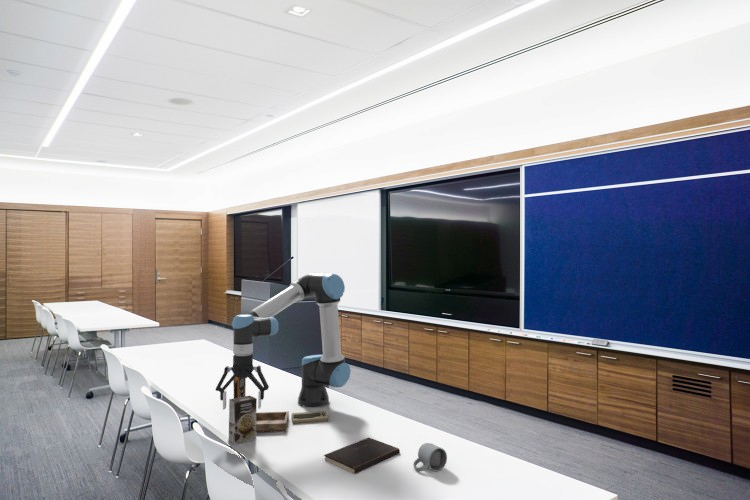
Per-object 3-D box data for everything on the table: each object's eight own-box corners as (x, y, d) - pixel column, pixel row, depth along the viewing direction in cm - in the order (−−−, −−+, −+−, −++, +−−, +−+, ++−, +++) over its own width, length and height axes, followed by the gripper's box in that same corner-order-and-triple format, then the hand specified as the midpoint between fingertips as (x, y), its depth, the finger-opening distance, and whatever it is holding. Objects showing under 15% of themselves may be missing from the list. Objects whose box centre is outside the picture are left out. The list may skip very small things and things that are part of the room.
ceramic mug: (433, 459, 171) (433, 438, 171) (447, 468, 164) (447, 446, 164) (408, 466, 166) (408, 444, 166) (422, 476, 159) (421, 453, 159)
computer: (292, 425, 206) (292, 417, 206) (291, 419, 214) (291, 411, 214) (328, 422, 210) (328, 415, 210) (326, 416, 218) (326, 409, 218)
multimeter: (248, 408, 228) (249, 366, 228) (229, 406, 230) (229, 365, 230) (262, 399, 243) (262, 359, 243) (244, 397, 245) (244, 358, 245)
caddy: (288, 419, 212) (288, 411, 212) (286, 431, 198) (286, 423, 198) (254, 420, 211) (254, 412, 211) (248, 433, 196) (249, 424, 196)
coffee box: (234, 444, 184) (235, 402, 184) (228, 439, 189) (228, 398, 189) (256, 439, 190) (257, 398, 190) (249, 434, 195) (250, 394, 195)
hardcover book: (323, 461, 171) (323, 454, 171) (368, 443, 187) (368, 437, 187) (354, 475, 160) (354, 468, 160) (399, 455, 176) (399, 448, 176)
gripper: (208, 356, 185) (207, 411, 184) (274, 355, 187) (273, 410, 187) (212, 352, 192) (211, 405, 192) (275, 352, 195) (275, 404, 194)
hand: (242, 408), depth 189 cm, fingers open, 13 cm apart
